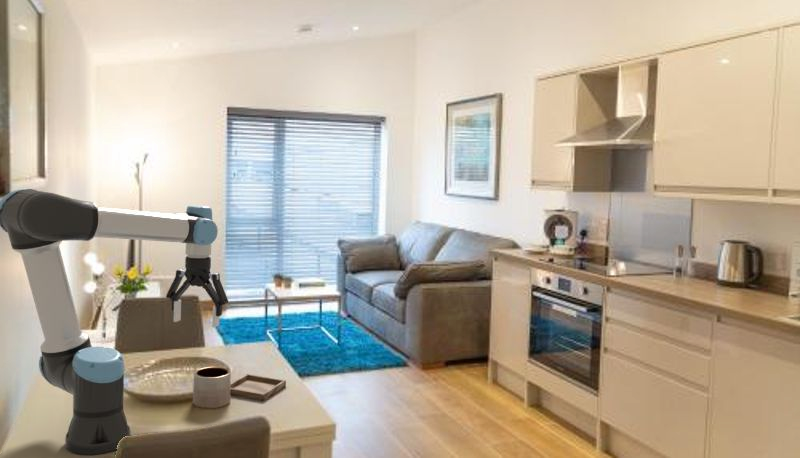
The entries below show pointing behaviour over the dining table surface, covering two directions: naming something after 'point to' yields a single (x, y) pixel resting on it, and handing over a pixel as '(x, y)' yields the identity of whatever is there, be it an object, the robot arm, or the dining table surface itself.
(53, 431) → the dining table surface
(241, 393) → the tray
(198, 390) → the planter
